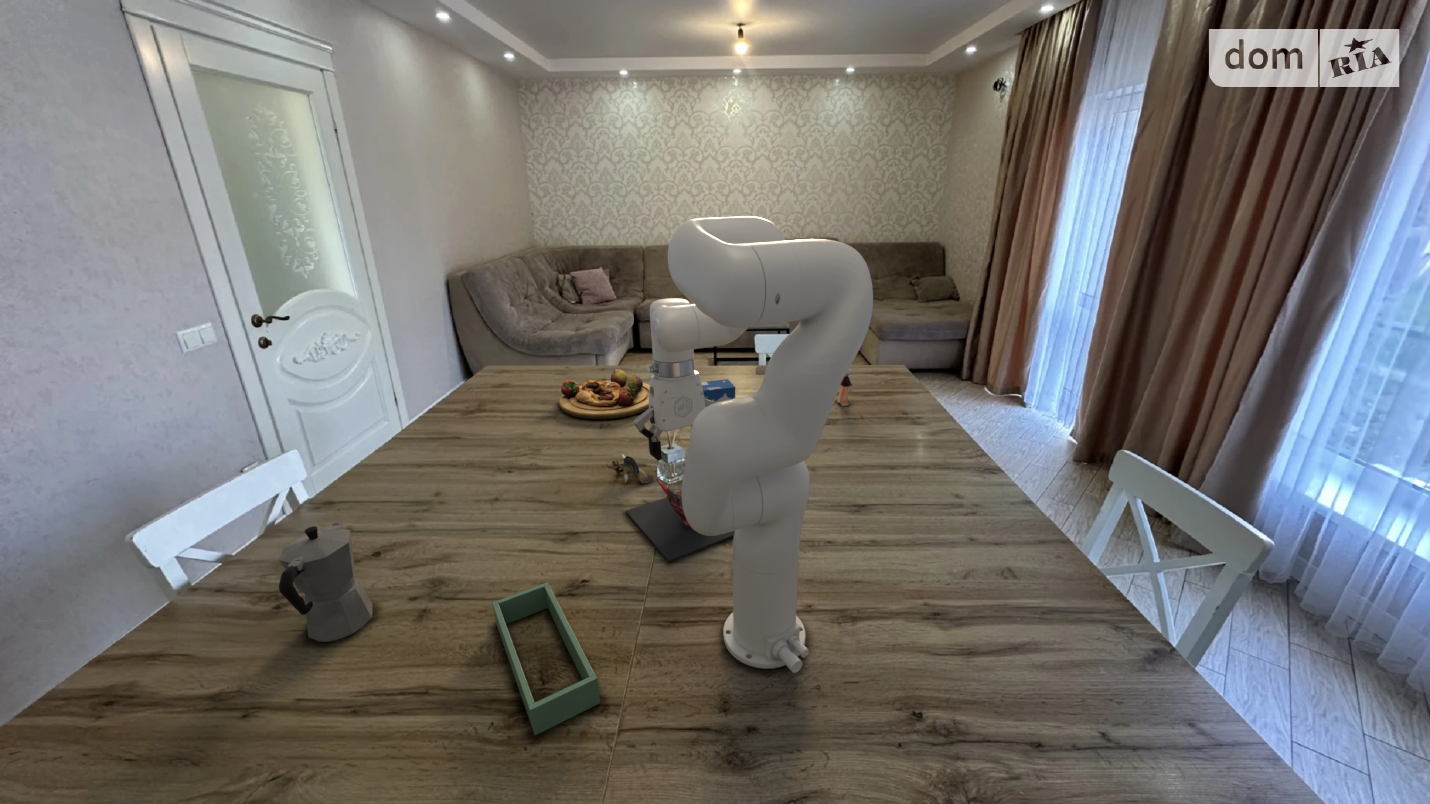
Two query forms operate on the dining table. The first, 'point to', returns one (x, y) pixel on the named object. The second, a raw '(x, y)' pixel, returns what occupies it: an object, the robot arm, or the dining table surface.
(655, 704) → the dining table surface
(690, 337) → the robot arm
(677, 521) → the mat
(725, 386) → the milk carton
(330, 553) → the coffeepot
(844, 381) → the grandmother figurine
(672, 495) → the decorative bird figurine
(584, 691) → the frame
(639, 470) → the eagle figurine
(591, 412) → the wooden plate
